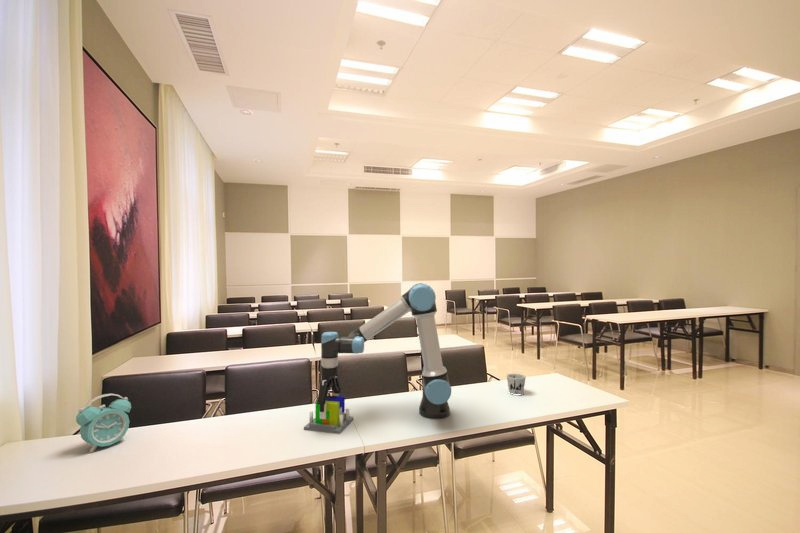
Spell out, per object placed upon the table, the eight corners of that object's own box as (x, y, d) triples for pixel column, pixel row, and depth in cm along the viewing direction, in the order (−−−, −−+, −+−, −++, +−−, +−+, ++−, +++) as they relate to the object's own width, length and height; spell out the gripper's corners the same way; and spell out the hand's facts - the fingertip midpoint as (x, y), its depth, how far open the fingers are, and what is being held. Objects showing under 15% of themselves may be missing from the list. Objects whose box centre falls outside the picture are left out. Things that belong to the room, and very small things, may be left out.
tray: (353, 419, 170) (353, 406, 170) (339, 433, 155) (339, 419, 155) (320, 415, 174) (320, 402, 174) (303, 429, 159) (303, 415, 159)
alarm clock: (82, 457, 135) (82, 403, 136) (72, 450, 140) (73, 399, 141) (135, 439, 150) (135, 391, 150) (125, 433, 155) (125, 387, 155)
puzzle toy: (344, 418, 168) (344, 396, 169) (336, 427, 159) (336, 404, 159) (324, 416, 170) (324, 395, 171) (315, 425, 161) (315, 402, 161)
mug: (507, 396, 202) (507, 378, 202) (504, 387, 217) (504, 371, 217) (527, 397, 200) (527, 379, 200) (522, 388, 215) (522, 371, 215)
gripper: (333, 359, 178) (333, 402, 178) (308, 373, 154) (308, 423, 153) (347, 360, 176) (347, 403, 176) (325, 374, 152) (324, 424, 152)
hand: (329, 412), depth 165 cm, fingers open, 13 cm apart
